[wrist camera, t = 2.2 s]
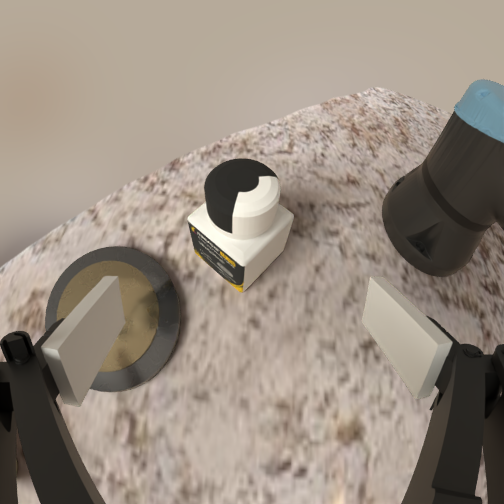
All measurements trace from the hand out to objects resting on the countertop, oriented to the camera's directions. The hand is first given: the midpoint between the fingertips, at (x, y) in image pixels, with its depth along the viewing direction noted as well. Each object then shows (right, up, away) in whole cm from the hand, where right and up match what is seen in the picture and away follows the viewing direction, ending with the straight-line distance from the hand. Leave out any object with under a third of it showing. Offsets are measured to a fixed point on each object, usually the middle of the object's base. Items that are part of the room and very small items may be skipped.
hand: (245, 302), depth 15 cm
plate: (-15, -4, +14) cm, 21 cm away
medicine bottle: (-1, +2, +19) cm, 19 cm away
